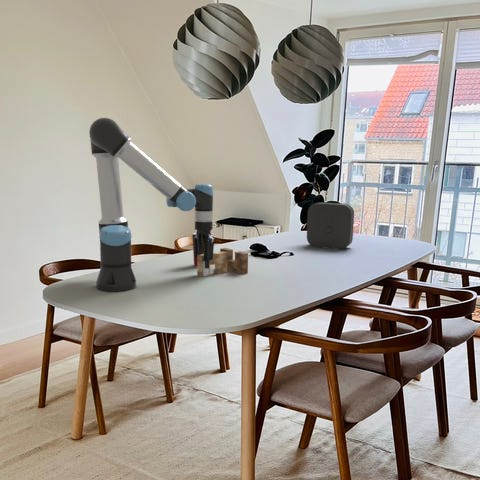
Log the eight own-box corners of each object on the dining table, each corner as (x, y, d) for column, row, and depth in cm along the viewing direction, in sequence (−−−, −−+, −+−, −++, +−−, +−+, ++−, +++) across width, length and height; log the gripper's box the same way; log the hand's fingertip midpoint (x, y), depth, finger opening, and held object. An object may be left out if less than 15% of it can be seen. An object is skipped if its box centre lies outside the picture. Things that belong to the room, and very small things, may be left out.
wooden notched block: (247, 273, 237) (248, 253, 236) (242, 274, 236) (242, 253, 234) (225, 266, 249) (225, 247, 248) (220, 267, 248) (220, 248, 246)
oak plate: (201, 276, 229) (201, 256, 228) (197, 275, 231) (197, 254, 230) (226, 272, 238) (227, 252, 237) (222, 271, 240) (223, 251, 239)
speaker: (352, 247, 306) (354, 204, 302) (349, 250, 298) (351, 205, 294) (309, 244, 315) (311, 201, 311) (305, 246, 308) (307, 202, 303)
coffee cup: (206, 267, 247) (207, 235, 244) (189, 266, 248) (189, 234, 246) (211, 264, 255) (211, 232, 252) (194, 263, 256) (194, 232, 254)
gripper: (222, 222, 224) (221, 277, 228) (199, 218, 236) (199, 270, 240) (207, 223, 219) (207, 279, 223) (185, 219, 231) (185, 272, 235)
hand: (203, 274), depth 232 cm, fingers closed on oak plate, 3 cm apart
